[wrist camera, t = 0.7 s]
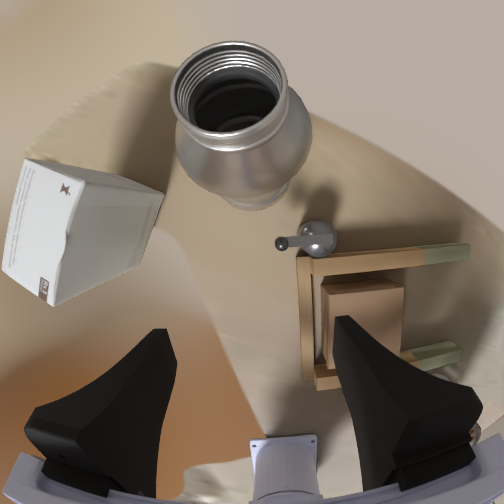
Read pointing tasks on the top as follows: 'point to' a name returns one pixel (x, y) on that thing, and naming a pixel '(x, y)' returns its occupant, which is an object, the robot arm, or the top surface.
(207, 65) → the silver metal bottle
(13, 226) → the skincare box
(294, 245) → the crank handle cylinder
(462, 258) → the bay
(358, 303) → the box
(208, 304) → the top surface
